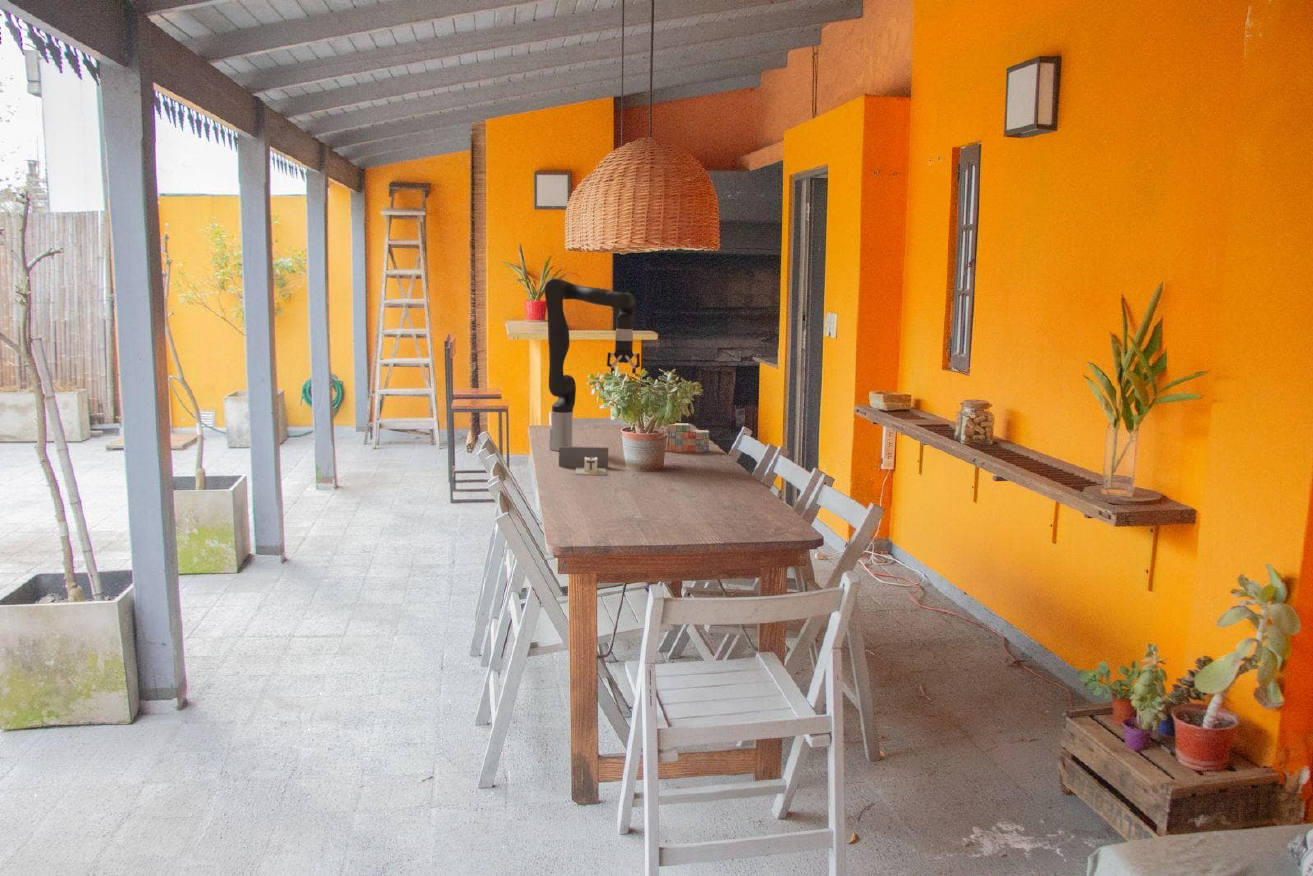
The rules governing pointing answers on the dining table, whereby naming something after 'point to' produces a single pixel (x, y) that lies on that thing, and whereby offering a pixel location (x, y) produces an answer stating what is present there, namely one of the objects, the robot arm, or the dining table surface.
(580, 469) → the sage pad
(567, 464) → the charcoal wall
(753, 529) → the dining table surface
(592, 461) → the marked cube
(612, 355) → the robot arm
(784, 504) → the dining table surface
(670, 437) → the stack of blocks
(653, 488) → the dining table surface
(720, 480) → the dining table surface
